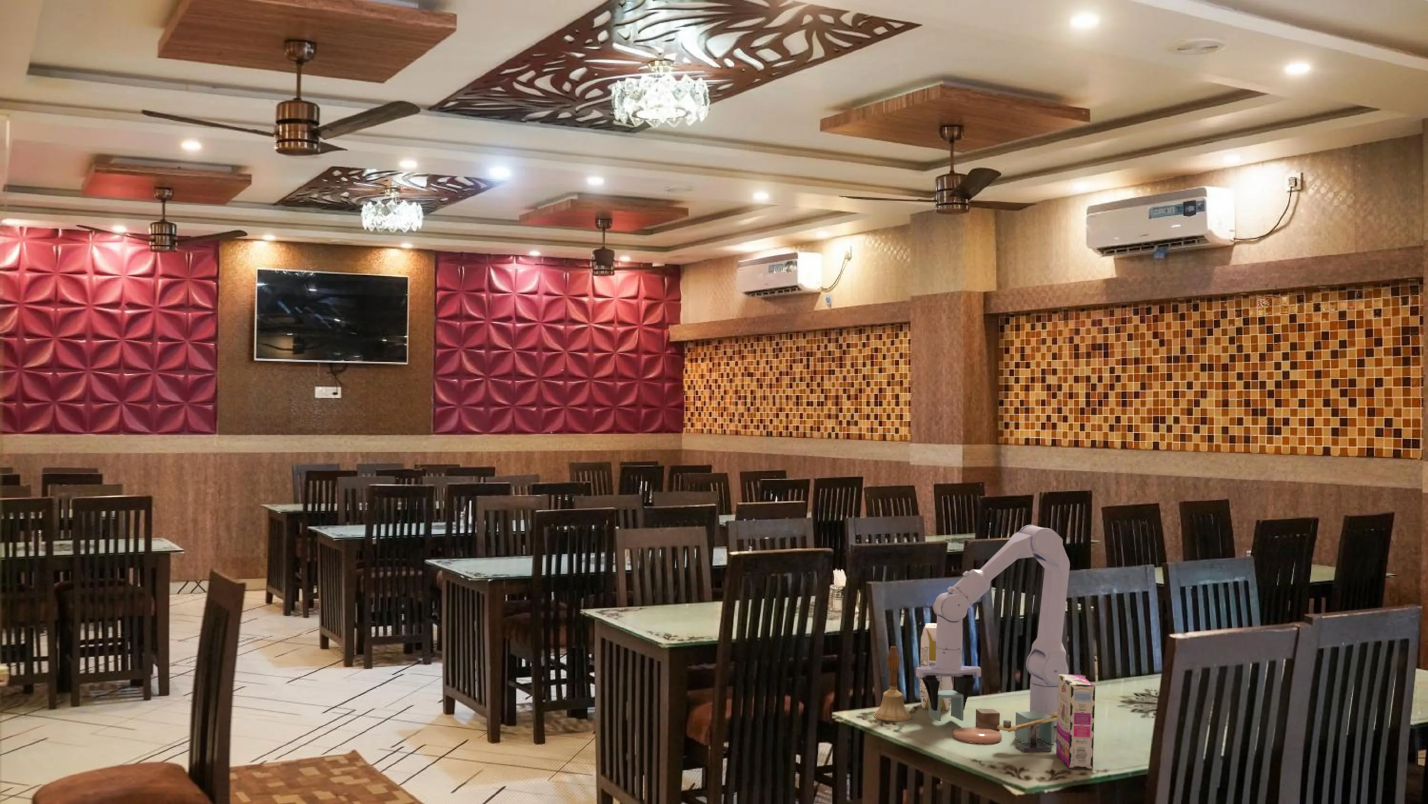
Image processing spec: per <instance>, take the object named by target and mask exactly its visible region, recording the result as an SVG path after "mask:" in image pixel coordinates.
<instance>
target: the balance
mask: <svg viewBox="0 0 1428 804" xmlns="http://www.w3.org/2000/svg"><path fill="white" fill-rule="evenodd" d="M1051 715H1052V717H1048V718H1044V719H1040V720H1036V721H1032V722H1028V723H1024V724H1020V725H1016V724H1015V725H1013V724H1012V721H1011V720H1008V719H1007V720H1003V722H1002V724H1000V725H998V726H997V728H998V729H1000V731H1005V732H1009V733H1011V732H1015V731H1016V730H1019V729H1022V728H1026V727H1030V743H1022V742H1016V743H1015V748H1017V749H1018V748H1019V750H1020V749H1021V750H1020V751H1022V752H1023V751H1024V752H1023V753H1030V752H1029V751H1032V752H1031V753H1034V752H1033V751H1043V752H1052V746H1050V745H1049V744H1048V743H1047V744H1046V742H1038V728H1039V727H1038V724H1042V723H1046V722H1050V721H1054V720H1057V711H1054V712H1051Z"/></svg>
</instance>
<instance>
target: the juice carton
mask: <svg viewBox="0 0 1428 804" xmlns="http://www.w3.org/2000/svg"><path fill="white" fill-rule="evenodd" d="M936 627H937V622H936V623H934V622H932V623H931V622H930V623H929V622H926V623H925V626H923V629H922V634H921V637H920V662H919V663H920V665H919V666H920V667H929V666H936ZM954 677H955V676H953V677H936V678H937V680H938V681H939V682H940V684H939V690H938V691H945V690H954ZM919 698H920V703H921V707H922V709H926V710H929V695H928V692H927V689H926V687H925V685H924V682H923V680H922V678H919ZM950 709H951V698H941V711H949V710H950Z"/></svg>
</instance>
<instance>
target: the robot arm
mask: <svg viewBox="0 0 1428 804" xmlns="http://www.w3.org/2000/svg"><path fill="white" fill-rule="evenodd" d="M1063 541H1064V540H1063V538H1062V537H1061V536H1060V535H1059V534H1058V533H1057V532H1056V531H1055V530H1054V529H1051V528H1048V527H1040V526H1037V525H1035V524H1027V525H1025V526H1022V528H1020V530H1019V531H1017V532H1016V533H1013V534H1012V536H1011V537H1010V539H1008V540H1007V542H1006V543H1005V544H1004V545H1003V546H1002V547H1001V548H1000V549H999V550H998V551H997V552H996V553H995V554H993V556H992V557H991V558H990V559H989V560H988V561H987V562H986V563H985V564H984V565H983V566H982V567H981V568H980V569H974V568H973V569H971V570H969V571H967V570H965V571H964V572H963V573H962V578H960V579H959V580H958V581H957V582H956V583H955V584H954V585H952V586H949V587H947V592H943V593H939V595H938V596H937V597H936V598H935V601H934V603H933V604H932V609H933V612H934V614H935V615H936V623H937V627H936V666H929V667H919V666H918V667H915V677H917V678H919V679H920V678H922V680H923V682H924V685H925V687H926V689H927V692H928V695H929V699H930V704H931V709H932V710H934V711H937V707H938V690H939V684H940V682H939V681H938V680H937V678H936V677H953V676H954V677H956V682H957V692H958V693H960V694H963V711H965V710H966V709H965V707H966V704H967V700H968V697H969V695H970V693H971V690H972V689H973V688H974V685H975V683H976V678H978V677H979V678H980V677H981V676H982V668H981V667H980V666H976V665H975V666H974V665H973V666H972V665H971V666H970V665H969V666H967V665H963V619H965V617H966V616H967V614H968V608H970V607H972V605H973V604H975V603H976V602H977V601H978V600H979V599H980V598H981V597H982V596H983V595H985V594H986V593H987V592H988V591H989V590H990V588H991V581H992V580H994V578H996V577H997V576H998V575H1000V574H1001V573H1002V572H1003V571H1004V570H1005V569H1007V568H1008V567H1009V566H1011V565H1012V564H1013V563H1014V562H1016V561H1017V560H1019V559H1026V558H1035V559H1036V561H1037V562H1038V563H1039V564H1040V565H1041V566H1042V567H1043V568H1044V572H1043V574H1044V575H1043V583H1042V591H1041V601H1040V610H1039V612H1040V613H1039V618H1038V619H1039V620H1038V630H1037V637H1036V639H1035V640H1034V641H1033V643H1032V645H1031V650H1030V653H1029V654H1028V656H1027V657H1026V661H1025V662H1026V663H1025V665H1026V670H1027V671H1028V673H1029V674H1030V680H1029V712H1032V711H1042V712H1043V713H1045V714H1047V715H1049V716H1051V717H1052V715H1051V712H1054V711H1057V703H1058V674H1068V675H1069V671H1070V670H1069V665H1068V663H1067V652H1066V649H1065V647H1064V643H1063V634H1064V623H1065V615H1066V613H1065V612H1066V607H1067V606H1066V605H1067V604H1066V603H1067V595H1068V587H1069V586H1068V585H1069V577H1070V569H1071V568H1070V567H1071V565H1070V564H1071V563H1070V560H1069V557H1068V555H1067V553H1066V550H1065V547H1064V545H1063V544H1064V543H1063ZM974 677H976V678H974ZM1030 722H1032V721H1030ZM1054 727H1057V720H1054ZM1037 728H1039V724H1038V727H1037Z"/></svg>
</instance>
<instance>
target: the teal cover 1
mask: <svg viewBox="0 0 1428 804" xmlns="http://www.w3.org/2000/svg"><path fill="white" fill-rule="evenodd" d="M941 698H951V704H950V716H951V717H953V718H955V719H957V720H959V721H962V722H963V721H964V710H963V694H960V693H958V691H956V690H954V689H953V690H945V691H938V707H937V711H934V710H932V709H931V704H930V699H929V709H928V717H930V718H931V719H934V720H935V721H937V722H941V719H942V716H941V715H942V714H941V713H942V710H941Z"/></svg>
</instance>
